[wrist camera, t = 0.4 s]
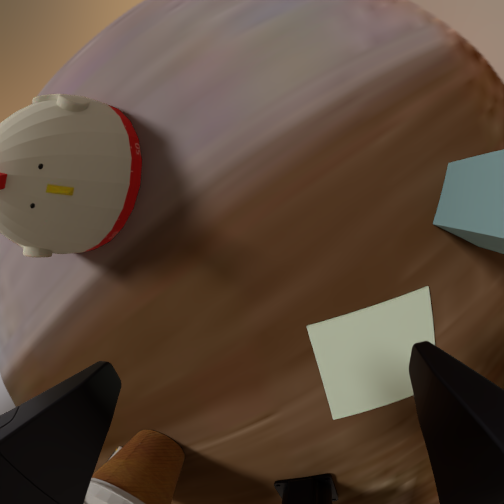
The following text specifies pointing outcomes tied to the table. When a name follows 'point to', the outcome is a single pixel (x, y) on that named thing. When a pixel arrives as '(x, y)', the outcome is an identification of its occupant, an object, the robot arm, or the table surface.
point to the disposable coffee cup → (139, 472)
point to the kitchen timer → (66, 174)
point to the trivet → (371, 352)
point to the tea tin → (474, 200)
